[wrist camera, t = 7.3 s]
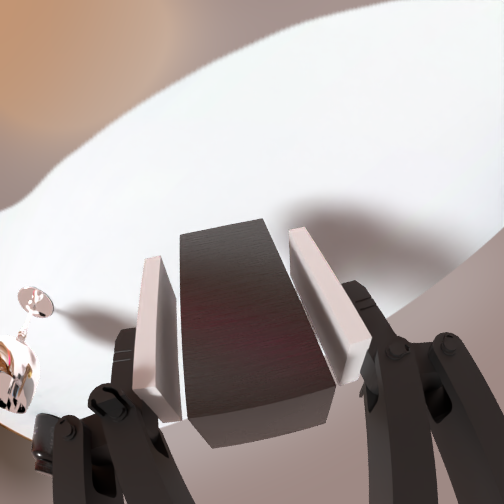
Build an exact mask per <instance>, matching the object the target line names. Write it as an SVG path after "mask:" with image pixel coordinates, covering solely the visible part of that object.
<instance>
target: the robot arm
mask: <svg viewBox="0 0 504 504" xmlns="http://www.w3.org/2000/svg"><path fill="white" fill-rule="evenodd" d="M289 248H290V275H291V278H292V280H293V282H294V284H295V286H296V289H297V291H298V293H299V295H300V298H301V300H302V302H303V304H304V306H305V309H306V311H307V313H308V315H309V318H310V320H311V322H312V324H313V327H314V329H315V331H316V334H317V336H318V338H319V340H320V343H321V345H322V347H323V350H324V352H325V354H326V356H327V359H328V361H329V363H330V366H331V368H332V370H333V373H334V375H335V377H336V380H337V382H338V384H339V386H341V385H344V384H347V383H350V382H353V381H356V380H358V377H359V375H360V373H361V375H362V377H363V379H364V384H363V386H362V388H361V391H360V395H359V397H362V396H363V394H364V405H365V416H366V429H367V443H368V462H369V463H368V465H369V504H438V493H437V479H436V469H435V460H434V452H433V444H432V437H431V432H432V434H433V437H434V439H435V442H436V444H437V446H438V449H439V452H440V454H441V457H442V459H443V462H444V464H445V467H446V470H447V472H448V475H449V478H450V480H451V483H452V486H453V489H454V492H455V495H456V498H457V500H458V504H504V415H503V413H502V411H501V409H500V407H499V405H498V403H497V402H496V399H495V398H494V395H493V394H492V392H491V390H490V388H489V386H488V384H487V382H486V381H485V379H484V377H483V375H482V374H481V372H480V370H479V368H478V367H477V365H476V363H475V362H474V360H473V358H472V356H471V355H470V353H469V352H468V350H467V349H466V347H465V345H464V343H463V342H462V341H461V339H460V338H459V337H458V336H456V335H454V334H452V333H448V332H445V333H440V334H439V335H437V336H436V337H435V339H434V341H433V342H426V343H410V342H408V341H407V340H406V339H405V338H402V337H400V336H397V335H396V334H395V333H394V331H393V330H392V328H391V326H390V325H389V323H388V322H387V320H386V318H385V317H384V315H383V314H382V312H381V311H380V309H379V308H378V306H376V303H375V302H374V300H373V299H372V298H371V295H370V294H369V292H368V291H367V289H366V288H365V287H364V286H362V285H361V284H360V283H358V282H357V281H355V280H354V281H350V282H347V283H343V284H340V282H339V280H338V279H337V277H336V276H335V274H334V272H333V271H332V269H331V267H330V266H329V264H328V263H327V261H326V259H325V258H324V256H323V255H322V253H321V252H320V250H319V248H318V247H317V245H316V244H315V242H314V241H313V239H312V237H311V236H310V234H309V233H308V231H307V230H306V228H305V227H301V228H296V229H290V230H289ZM114 353H115V354H114V357H113V365H112V375H111V383H106V384H101V385H100V386H98V387H96V388H95V389H94V390H93V391H92V392H91V394H90V396H89V399H88V407H89V408H90V409H91V410H92V411H93V412H94V413H95V414H93V415H91V416H88V417H86V418H83V419H78V418H77V417H76V416H73V415H66V416H63V417H62V418H60V419H59V420H58V422H57V423H56V425H55V428H54V436H53V502H54V504H124V499H123V494H124V496H125V499H126V501H127V504H195V502H194V500H193V498H192V496H191V495H190V493H189V491H188V489H187V487H186V485H185V483H184V481H183V479H182V476H181V474H180V472H179V470H178V468H177V466H176V464H175V461H174V459H173V457H172V455H171V452H170V450H169V447H168V445H167V443H166V440H165V438H164V435H163V433H162V432H161V430H160V429H159V428H158V418H159V419H160V420H161V421H162V422H163V423H166V422H176V421H182V411H181V399H180V384H179V368H178V347H177V313H176V297H175V294H174V291H173V289H172V286H171V283H170V281H169V278H168V275H167V272H166V270H165V267H164V264H163V261H162V258H161V256H156V257H152V258H147V259H145V261H144V268H143V275H142V282H141V290H140V298H139V307H138V316H137V326H136V328H129V329H123V330H121V331H120V333H119V335H118V337H117V339H116V341H115V348H114ZM430 430H431V431H430Z"/></svg>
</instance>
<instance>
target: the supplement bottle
mask: <svg viewBox="0 0 504 504" xmlns="http://www.w3.org/2000/svg"><path fill="white" fill-rule="evenodd" d="M58 420H59V418H57V417H54V416H51V415H48V414H38V415H37V416H36V419H35V426H34V433H33V440H32V449H31V453H32V455H33V457H34V458H35V459H36V460H37V461H36V462H35V471H36V472H38V473H40V474H42V475H45V476H49V477H52V478H53V436H54V428H55V425H56V423H57V422H58Z"/></svg>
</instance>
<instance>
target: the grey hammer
mask: <svg viewBox="0 0 504 504" xmlns="http://www.w3.org/2000/svg"><path fill="white" fill-rule="evenodd" d="M180 306H181V333H182V352H183V368H184V382H185V395H186V406H187V417H188V420H189V421H190V422H191V423H192V425H193V426H194V427H195V428H196V429H197V431H198V432H199V433H200V435H201V436H202V437H203V438H204V439H205V440H206V442H207V443H208V444H209V445H210V446H211V448H219V447H226V446H232V445H238V444H243V443H249V442H254V441H258V440H263V439H268V438H272V437H276V436H280V435H285V434H289V433H292V432H296V431H300V430H304V429H307V428H311V427H314V426H318V425H321V424H324V423H326V420H327V416H328V413H329V410H330V406H331V403H332V399H333V395H334V392H335V388H336V384H335V382H334V379H333V377H332V375H331V372H330V370H329V367H328V365H327V363H326V360H325V358H324V356H323V353H322V351H321V349H320V346H319V344H318V342H317V339H316V337H315V335H314V332H313V330H312V328H311V325H310V323H309V321H308V319H307V316H306V314H305V312H304V309H303V307H302V305H301V303H300V300H299V298H298V296H297V294H296V291H295V289H294V287H293V285H292V282H291V280H290V278H289V276H288V273H287V271H286V269H285V267H284V264H283V262H282V260H281V258H280V256H279V253H278V251H277V249H276V247H275V245H274V242H273V240H272V238H271V236H270V234H269V231H268V229H267V227H266V225H265V223H264V221H263V218H262V219H257V220H252V221H247V222H241V223H236V224H231V225H226V226H221V227H216V228H211V229H206V230H201V231H197V232H192V233H187V234H182V235H180Z"/></svg>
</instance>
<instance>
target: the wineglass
mask: <svg viewBox="0 0 504 504" xmlns="http://www.w3.org/2000/svg"><path fill="white" fill-rule="evenodd" d="M18 300H19V303H20V305H21V306H22V307H23V309H24V310H25V311H27V312H28V316H27V318H26V321H25V323H24V325H23V326H22V328H21V329H20V331H19V332H18V338H17V337H14V336H9V335H2V336H0V407H1V408H3V409H5V410H8V411H10V412H14V413H19V414H23V413H26V411H27V409H28V407H29V405H30V403H31V401H32V399H33V397H34V394H35V392H36V389H37V386H38V383H39V377H40V365H39V361H38V358H37V356H36V354H35V352H34V351H33V350H32V348H31V347H30V346H29V345H28V344H26V343H25V342H24V341H25V340H26V338H27V330H28V325H29V322H30V319H31V317H32V315H33V316H35V317H39V318H45V317H48V316H50V315H51V314H52V312H53V305H52V302H51V301H50V299H49V298H48V296H47V295H46V294H44V293H43V292H42V291H40V290H39V289H36V288H34V287H23V288H21V289H20V290H19V292H18Z"/></svg>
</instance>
